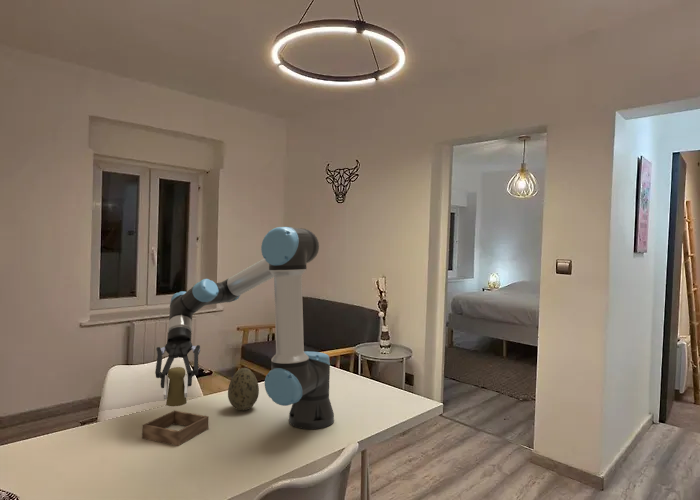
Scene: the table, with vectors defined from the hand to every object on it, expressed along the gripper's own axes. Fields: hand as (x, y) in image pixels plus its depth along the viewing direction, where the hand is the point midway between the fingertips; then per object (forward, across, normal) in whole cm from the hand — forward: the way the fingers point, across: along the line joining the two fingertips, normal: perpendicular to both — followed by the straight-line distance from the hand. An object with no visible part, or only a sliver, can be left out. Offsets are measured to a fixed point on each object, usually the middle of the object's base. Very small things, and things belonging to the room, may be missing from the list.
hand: (175, 396), depth 138 cm
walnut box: (+6, 0, -12) cm, 13 cm away
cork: (0, 0, -5) cm, 5 cm away
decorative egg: (-5, -21, -24) cm, 32 cm away
